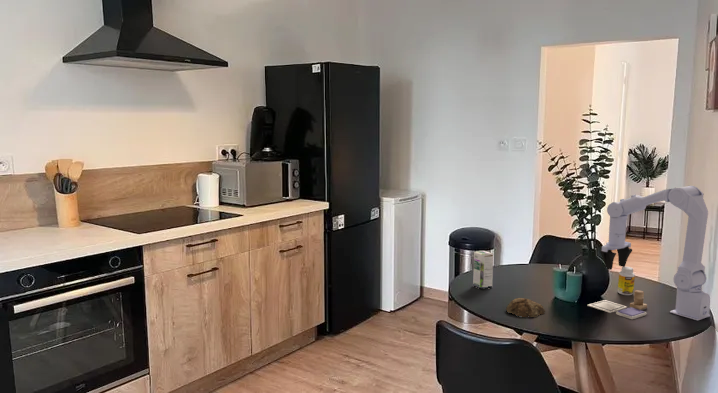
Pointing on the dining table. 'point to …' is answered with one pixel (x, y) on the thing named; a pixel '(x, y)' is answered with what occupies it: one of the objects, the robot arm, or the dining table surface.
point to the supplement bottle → (626, 281)
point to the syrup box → (483, 268)
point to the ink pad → (631, 313)
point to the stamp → (638, 301)
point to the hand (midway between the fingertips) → (615, 267)
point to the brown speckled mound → (525, 308)
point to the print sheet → (607, 306)
